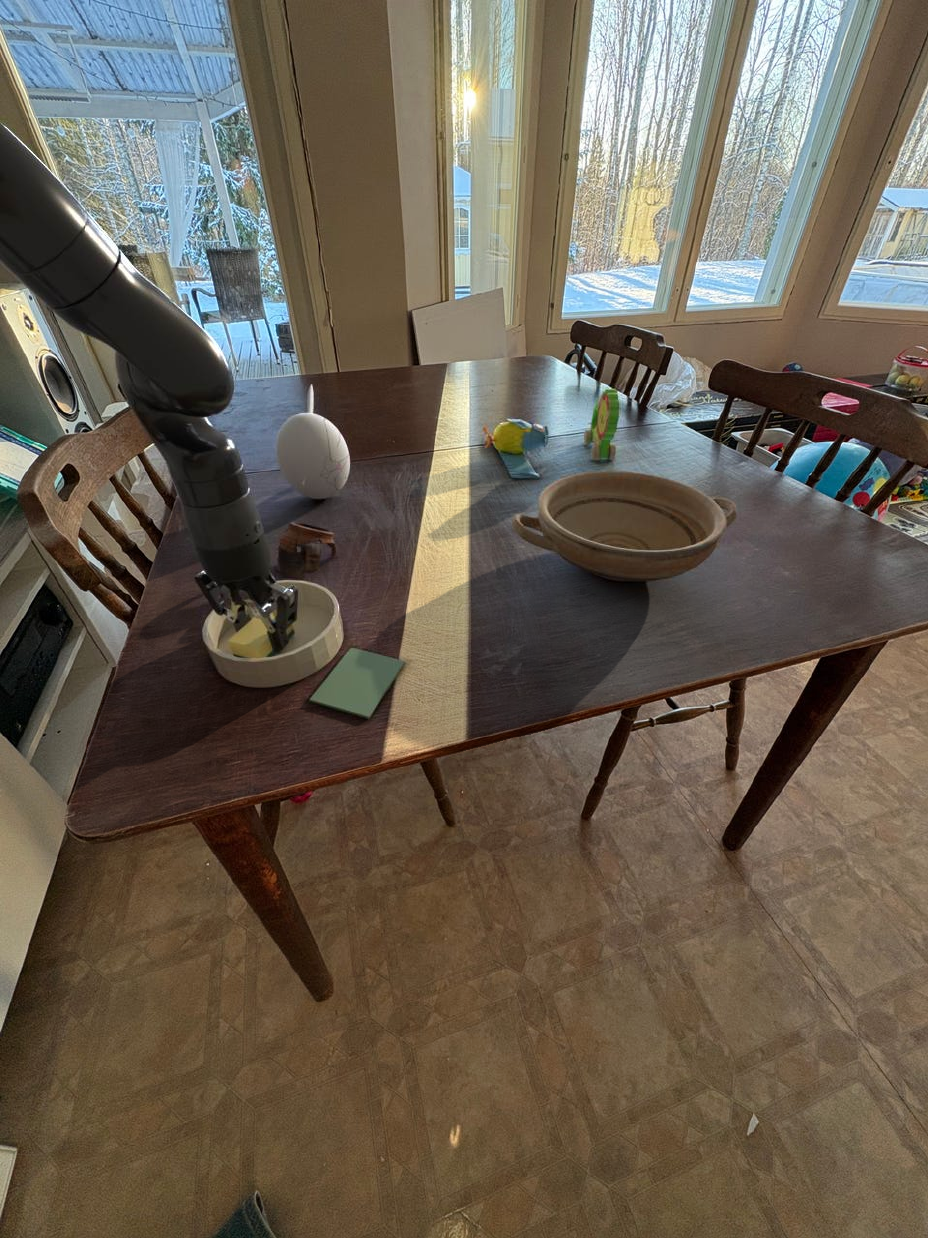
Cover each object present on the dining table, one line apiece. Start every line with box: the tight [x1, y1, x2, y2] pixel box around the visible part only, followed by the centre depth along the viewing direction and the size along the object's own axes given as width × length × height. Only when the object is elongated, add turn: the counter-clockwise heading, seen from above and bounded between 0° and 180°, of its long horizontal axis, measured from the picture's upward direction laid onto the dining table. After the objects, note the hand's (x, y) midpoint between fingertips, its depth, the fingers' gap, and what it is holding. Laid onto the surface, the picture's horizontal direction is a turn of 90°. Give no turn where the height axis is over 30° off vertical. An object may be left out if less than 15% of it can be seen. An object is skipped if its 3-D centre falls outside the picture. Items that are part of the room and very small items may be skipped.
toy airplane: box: [481, 418, 550, 480], centre depth 121 cm, size 28×9×15 cm
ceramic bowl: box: [511, 470, 739, 582], centre depth 83 cm, size 37×29×10 cm
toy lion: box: [583, 388, 620, 461], centre depth 120 cm, size 16×5×15 cm, turn 0°
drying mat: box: [309, 647, 406, 720], centre depth 64 cm, size 10×8×1 cm
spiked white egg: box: [275, 383, 351, 500], centre depth 104 cm, size 19×14×25 cm
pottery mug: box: [276, 521, 338, 579], centre depth 84 cm, size 12×10×8 cm
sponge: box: [228, 613, 295, 659], centre depth 67 cm, size 7×4×3 cm, turn 160°
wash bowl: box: [201, 579, 344, 689], centre depth 69 cm, size 17×17×4 cm
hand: (264, 643), depth 68 cm, fingers closed on sponge, 4 cm apart
